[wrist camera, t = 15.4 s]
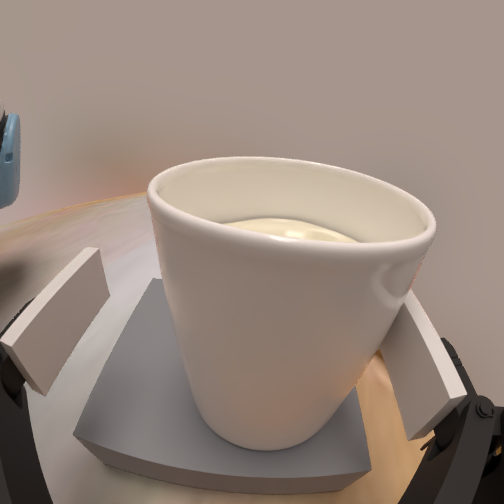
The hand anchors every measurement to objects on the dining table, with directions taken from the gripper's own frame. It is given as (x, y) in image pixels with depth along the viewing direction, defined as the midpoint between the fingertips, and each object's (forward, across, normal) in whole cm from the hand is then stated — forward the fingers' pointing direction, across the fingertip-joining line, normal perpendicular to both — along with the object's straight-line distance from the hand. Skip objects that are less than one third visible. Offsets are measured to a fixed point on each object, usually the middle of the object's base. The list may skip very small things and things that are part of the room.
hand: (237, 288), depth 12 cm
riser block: (+2, 0, -12) cm, 12 cm away
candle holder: (0, +2, -7) cm, 8 cm away
